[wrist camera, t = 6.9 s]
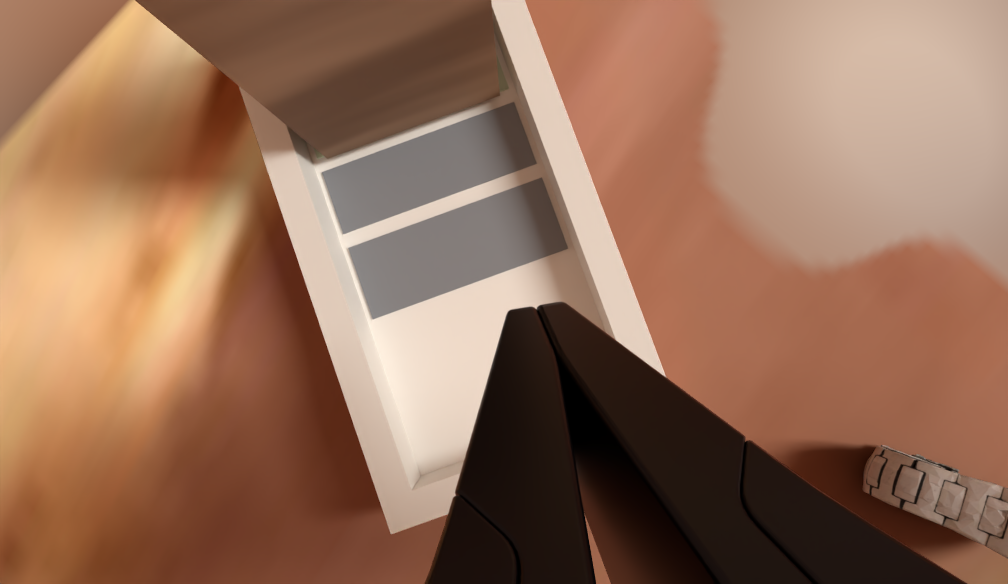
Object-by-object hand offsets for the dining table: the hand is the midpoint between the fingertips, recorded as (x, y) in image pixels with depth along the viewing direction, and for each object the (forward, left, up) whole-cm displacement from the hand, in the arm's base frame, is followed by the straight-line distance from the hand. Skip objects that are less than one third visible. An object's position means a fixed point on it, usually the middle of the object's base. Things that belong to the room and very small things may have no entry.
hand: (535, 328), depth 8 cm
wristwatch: (-8, -11, -11) cm, 18 cm away
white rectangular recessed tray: (+4, +2, -11) cm, 11 cm away
